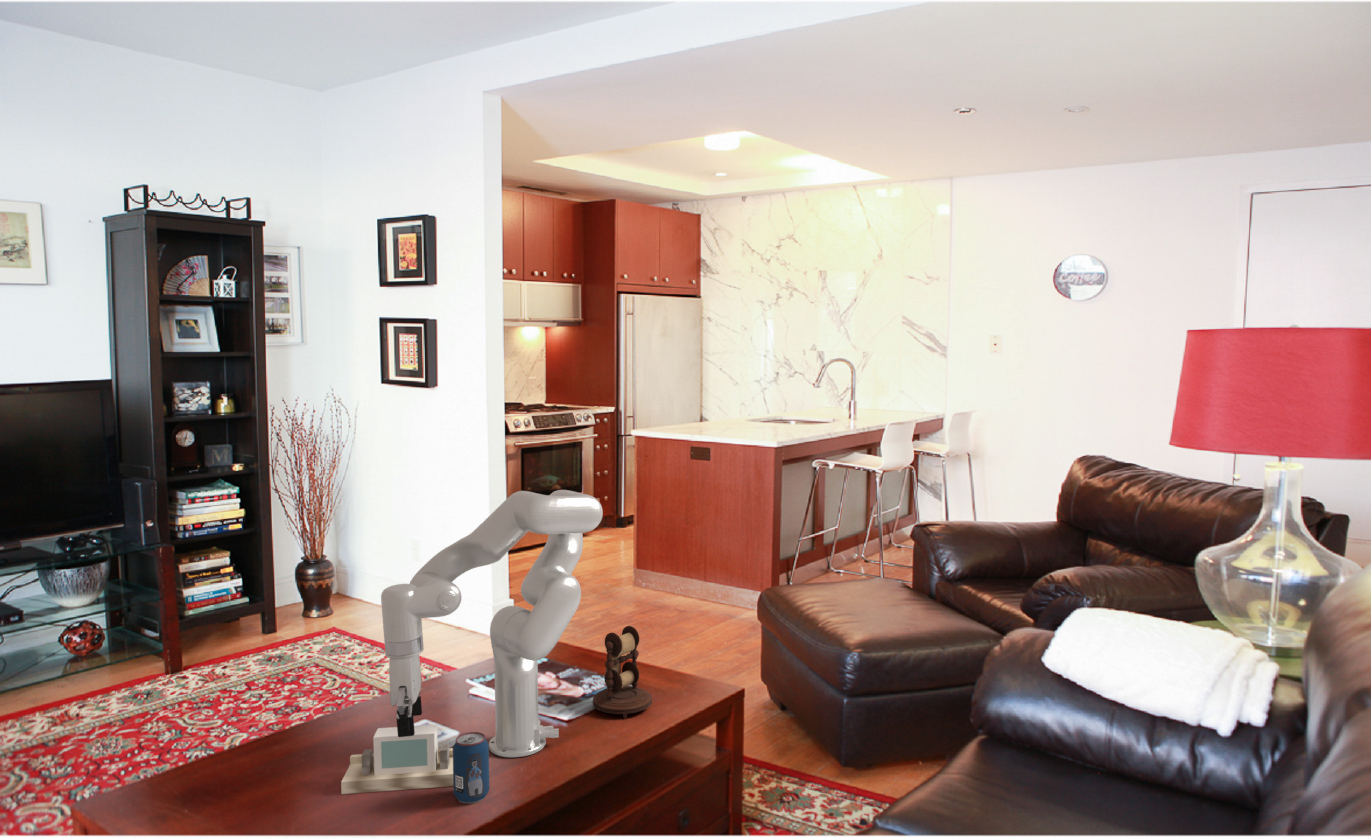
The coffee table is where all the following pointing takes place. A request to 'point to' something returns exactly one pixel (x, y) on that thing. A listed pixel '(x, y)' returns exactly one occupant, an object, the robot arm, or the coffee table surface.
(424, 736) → the white block
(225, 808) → the coffee table surface
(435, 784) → the ledge
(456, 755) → the soda can
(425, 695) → the coffee table surface
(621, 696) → the thread spool stand
